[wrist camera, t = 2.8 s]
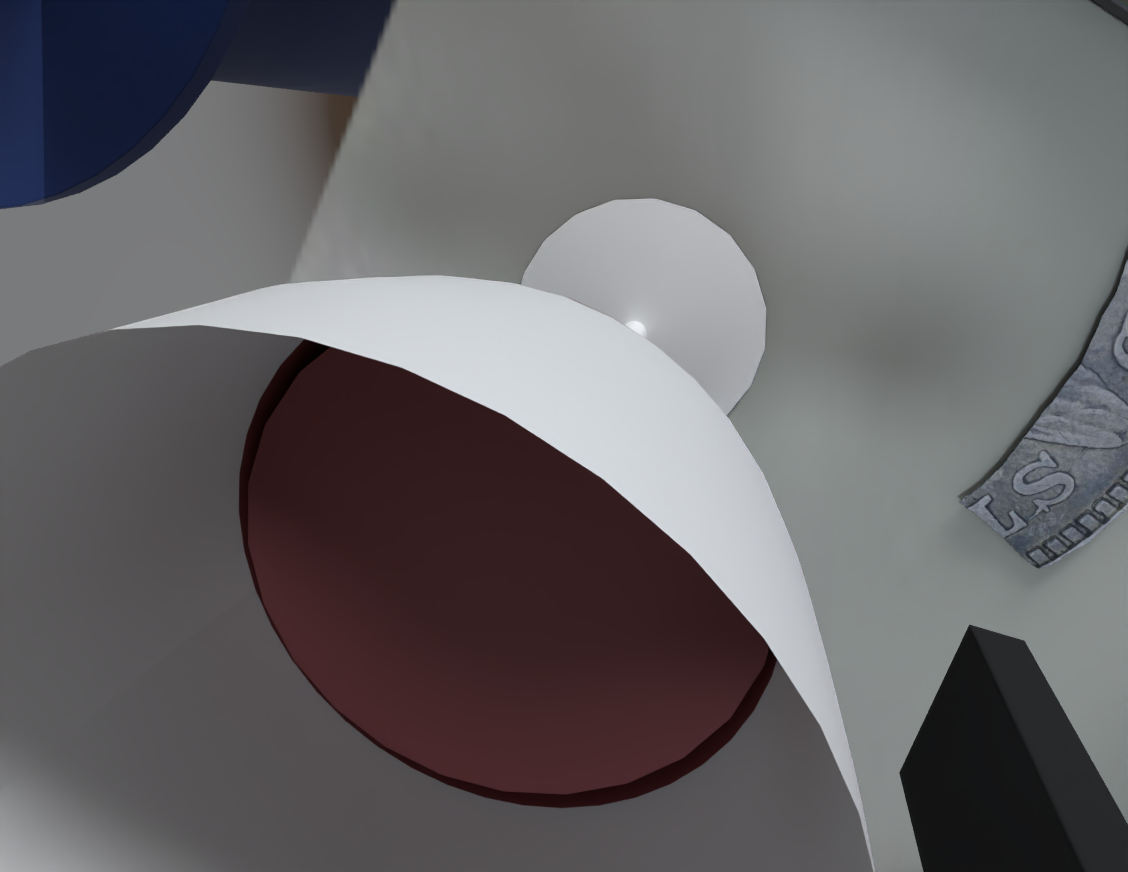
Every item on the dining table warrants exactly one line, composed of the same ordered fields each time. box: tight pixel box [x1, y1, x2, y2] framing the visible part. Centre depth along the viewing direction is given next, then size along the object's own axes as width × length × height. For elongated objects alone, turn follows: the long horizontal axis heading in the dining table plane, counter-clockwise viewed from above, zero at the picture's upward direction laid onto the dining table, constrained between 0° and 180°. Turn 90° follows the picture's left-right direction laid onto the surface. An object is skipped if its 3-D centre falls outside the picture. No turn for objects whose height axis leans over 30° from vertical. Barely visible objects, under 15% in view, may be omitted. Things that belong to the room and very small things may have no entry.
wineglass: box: [0, 198, 875, 872], centre depth 18 cm, size 9×10×23 cm
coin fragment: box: [959, 260, 1128, 568], centre depth 26 cm, size 13×5×1 cm, turn 159°
